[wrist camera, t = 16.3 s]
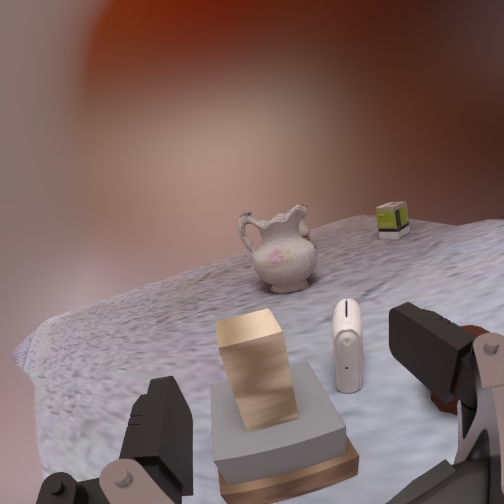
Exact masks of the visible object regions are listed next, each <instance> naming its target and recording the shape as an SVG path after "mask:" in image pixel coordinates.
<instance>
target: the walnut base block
mask: <svg viewBox="0 0 504 504" xmlns="http://www.w3.org/2000/svg"><path fill="white" fill-rule="evenodd" d="M358 462H359V455H358V453H357V451H356V450H355V448H354V447H353V445H352V443H351V442H350V440H349V439H348V437H347V436H346V453H345V454H344V455H342V456H339V457H336V458H334V459H331V460H328V461H325V462H322V463H319V464H316V465H313V466H310V467H307V468H303V469H300V470H296V471H293V472H289V473H285V474H282V475H277V476H273V477H269V478H264V479H260V480H255V481H249V482H244V483H238V484H232V485H228V484H227V482H226V480H225V479H224V477H223V476H222V474H221V472H220V471H219V469H218V474H219V483H220V491H221V496H222V497H223V499H224V500H225V501H226V502H227V504H270V503H275V502H279V501H283V500H287V499H290V498H294V497H297V496H301V495H304V494H307V493H310V492H314V491H317V490H319V489H322V488H325V487H328V486H331V485H333V484H336V483H339V482H341V481H344V480H346V479H349V478H351V477H353V476H356V475H357V471H358Z"/></svg>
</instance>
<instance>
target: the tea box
mask: <svg viewBox="0 0 504 504" xmlns="http://www.w3.org/2000/svg"><path fill="white" fill-rule="evenodd" d="M376 215H377V222H378V229H379V237H380V240H399V239H400V238H402V237H403V236H405V235H406V234H407V233H409V232H410V227H409V219H408V212H407V204H406V202H390V203H387V204H384V205H381V206H379V207H377V208H376Z"/></svg>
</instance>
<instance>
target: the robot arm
mask: <svg viewBox="0 0 504 504" xmlns="http://www.w3.org/2000/svg"><path fill="white" fill-rule="evenodd" d="M389 347H390V351H391V353H392V355H393V356H394V358H395V359H396V360H398V361H399V362H400V363H401V364H402V365H403V366H404V367H405V368H406V369H407V370H409V371H410V372H411V373H412V374H413V375H414V376H415V377H416V378H417V379H418V380H420V381H421V382H422V383H423V384H424V385H425V386H426V387H427V388H428V389H429V390H430V391H432V392H433V393H434V394H435V395H436V396H437V397H438V398H439V399H440V400H441V401H442V402H443V403H445V404H447V403H448V402H449V401H451V400H452V399H454V398H455V397H457V398H458V399H459V401H458V404H457V411H458V450H457V454H456V457H455V461H454V464H453V465H450V464H449V462H448V461H447V460H446V459H445V460H443V461H442V462H441V463H439V464H438V465H436V466H435V467H433V468H432V469H430V470H429V471H427V472H426V473H424V474H423V475H421V476H419V477H418V478H416V479H415V480H413V481H412V482H411V483H410V484H409V485H407V486H406V487H405V488H404V489H403V490H402V491H401V492H399V493H398V494H397V495H396V496H395V497H393V498H392V499H391V500H390V501H389V502H387V503H386V504H504V336H502V335H500V334H497V333H485V334H482V335H480V336H478V337H477V336H475V335H473V334H472V333H470V332H468V331H467V330H465V329H463V328H462V327H460V326H458V325H456V324H455V323H453V322H452V323H451V321H449V320H448V319H446V318H443V317H442V316H441V315H439V314H437V313H435V312H433V311H429V310H425V309H420V308H419V307H417V306H415V305H413V304H412V303H410V302H406V303H404V304H402V305H399V306H397V307H395V308H393V309H391V310H390V312H389ZM130 417H131V418H129V422H128V427H127V429H126V433H125V437H124V441H123V445H122V449H121V453H120V457H119V460H115V461H113V462H111V463H109V464H108V465H107V466H106V467H105V468H104V469H103V470H102V472H101V474H100V478H96V479H91V480H86V481H81V482H77V481H76V480H75V479H74V478H73V477H72V476H71V475H69V474H67V473H64V472H57V473H54V474H51V475H50V476H48V477H47V478H46V479H45V480H44V482H43V483H42V486H41V489H40V492H39V495H38V499H37V502H36V504H182V496H191V495H193V419H192V414H191V411H190V408H189V406H188V404H187V402H186V400H185V398H184V396H183V394H182V392H181V390H180V388H179V386H178V384H177V382H176V380H175V379H174V377H173V376H167V377H162V378H156V379H152V380H151V381H150V384H149V388H148V392H147V394H144V395H141V396H140V397H139V398H138V400H137V401H136V402H135V403H134V405H133V407H132V411H131V415H130Z"/></svg>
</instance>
